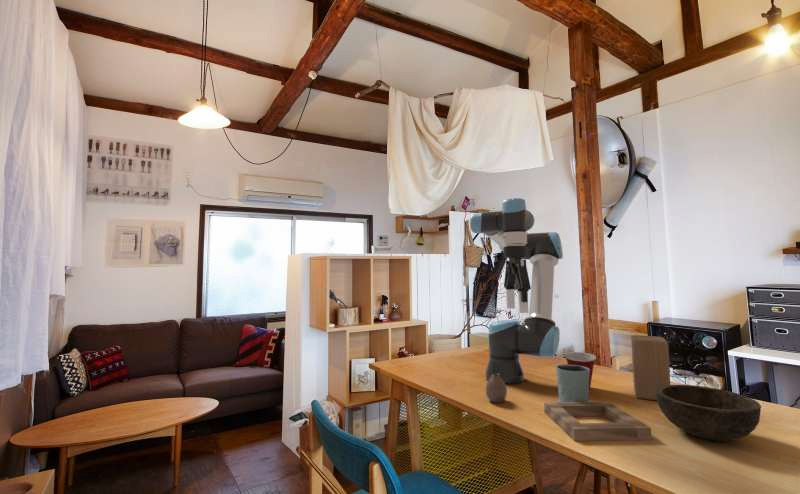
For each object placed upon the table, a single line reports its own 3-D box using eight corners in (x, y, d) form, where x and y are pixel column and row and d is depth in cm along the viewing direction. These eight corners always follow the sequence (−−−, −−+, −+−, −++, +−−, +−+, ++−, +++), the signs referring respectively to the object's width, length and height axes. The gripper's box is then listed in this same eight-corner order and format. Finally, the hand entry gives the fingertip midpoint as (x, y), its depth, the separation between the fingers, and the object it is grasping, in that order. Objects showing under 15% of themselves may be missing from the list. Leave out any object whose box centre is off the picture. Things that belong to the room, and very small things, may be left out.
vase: (493, 396, 135) (492, 370, 135) (510, 400, 130) (510, 374, 130) (481, 401, 130) (481, 374, 130) (500, 406, 125) (499, 378, 125)
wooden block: (635, 399, 130) (632, 339, 131) (633, 390, 139) (631, 334, 140) (671, 403, 125) (668, 341, 127) (667, 394, 134) (664, 336, 135)
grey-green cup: (553, 406, 124) (552, 368, 124) (560, 398, 132) (559, 362, 133) (588, 413, 118) (586, 373, 119) (593, 403, 126) (592, 366, 127)
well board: (544, 412, 119) (544, 402, 119) (608, 411, 119) (608, 401, 119) (574, 440, 99) (573, 428, 99) (651, 439, 99) (650, 427, 99)
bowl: (786, 447, 94) (783, 405, 94) (722, 461, 88) (719, 416, 88) (695, 415, 115) (693, 381, 115) (638, 425, 108) (636, 388, 109)
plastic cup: (565, 390, 140) (564, 357, 141) (565, 382, 150) (564, 351, 151) (599, 393, 136) (597, 359, 137) (596, 385, 146) (594, 353, 147)
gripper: (494, 248, 139) (495, 307, 138) (515, 243, 114) (517, 315, 113) (514, 247, 139) (516, 306, 138) (540, 242, 115) (542, 314, 113)
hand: (516, 310), depth 126 cm, fingers open, 13 cm apart
